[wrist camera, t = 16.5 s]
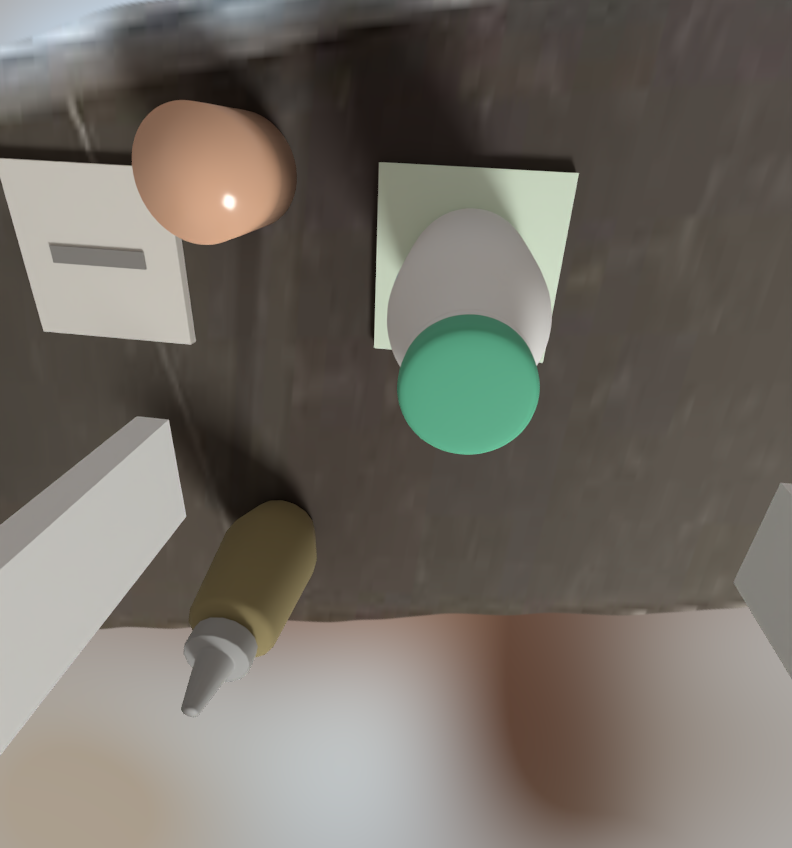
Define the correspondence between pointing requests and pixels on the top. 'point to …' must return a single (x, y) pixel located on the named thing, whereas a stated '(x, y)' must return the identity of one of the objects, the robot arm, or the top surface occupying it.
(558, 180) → the tile
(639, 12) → the top surface
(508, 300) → the milk bottle
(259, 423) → the top surface
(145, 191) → the rounded peach cylinder
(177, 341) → the tile
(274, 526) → the squeeze bottle
